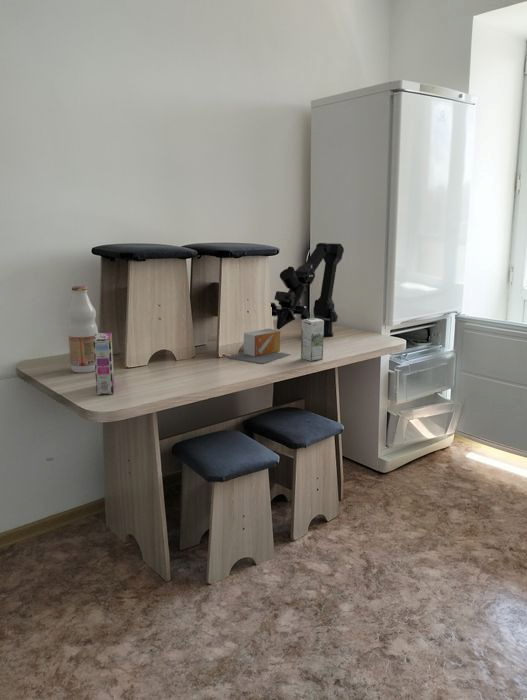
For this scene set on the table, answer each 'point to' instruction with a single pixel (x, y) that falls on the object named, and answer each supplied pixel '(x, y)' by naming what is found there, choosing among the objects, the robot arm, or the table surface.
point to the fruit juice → (81, 331)
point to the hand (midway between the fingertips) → (277, 328)
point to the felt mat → (259, 357)
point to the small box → (261, 342)
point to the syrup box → (312, 339)
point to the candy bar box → (104, 363)
